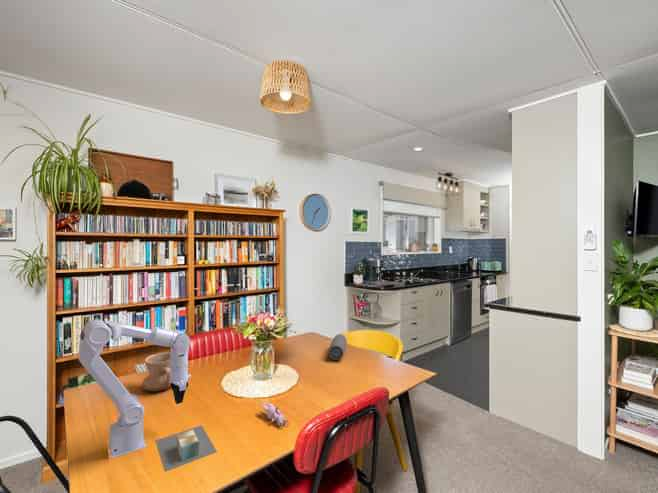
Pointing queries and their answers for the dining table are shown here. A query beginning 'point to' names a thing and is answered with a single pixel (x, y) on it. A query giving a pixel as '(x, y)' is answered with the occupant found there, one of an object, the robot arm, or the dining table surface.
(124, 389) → the robot arm
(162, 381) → the ceramic jug
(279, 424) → the rabbit figure
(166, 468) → the rubber mat
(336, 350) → the bluetooth speaker
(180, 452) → the maple block
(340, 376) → the dining table surface
